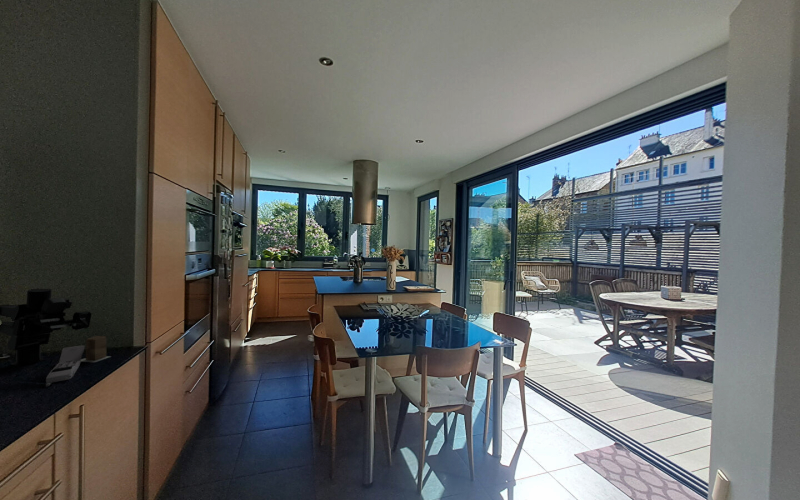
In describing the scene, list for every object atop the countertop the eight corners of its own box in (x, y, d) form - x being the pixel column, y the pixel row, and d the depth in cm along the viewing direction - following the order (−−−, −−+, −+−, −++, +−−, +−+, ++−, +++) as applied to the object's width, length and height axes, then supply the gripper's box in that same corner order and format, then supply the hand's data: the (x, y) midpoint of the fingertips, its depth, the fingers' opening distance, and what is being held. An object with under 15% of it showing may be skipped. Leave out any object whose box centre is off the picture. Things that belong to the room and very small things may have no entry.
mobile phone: (85, 344, 118) (70, 365, 98) (85, 359, 118) (70, 383, 98) (62, 347, 114) (41, 369, 94) (63, 363, 114) (42, 388, 95)
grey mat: (76, 362, 115) (76, 361, 115) (94, 356, 121) (94, 355, 121) (94, 363, 114) (94, 362, 114) (111, 357, 120) (111, 356, 120)
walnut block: (85, 359, 116) (85, 339, 116) (97, 356, 120) (97, 336, 120) (95, 360, 116) (95, 339, 115) (106, 356, 120) (106, 336, 119)
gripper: (7, 299, 101) (36, 308, 96) (80, 295, 119) (107, 302, 114) (1, 332, 100) (29, 343, 96) (74, 323, 118) (101, 332, 114)
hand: (70, 328), depth 105 cm, fingers open, 9 cm apart
